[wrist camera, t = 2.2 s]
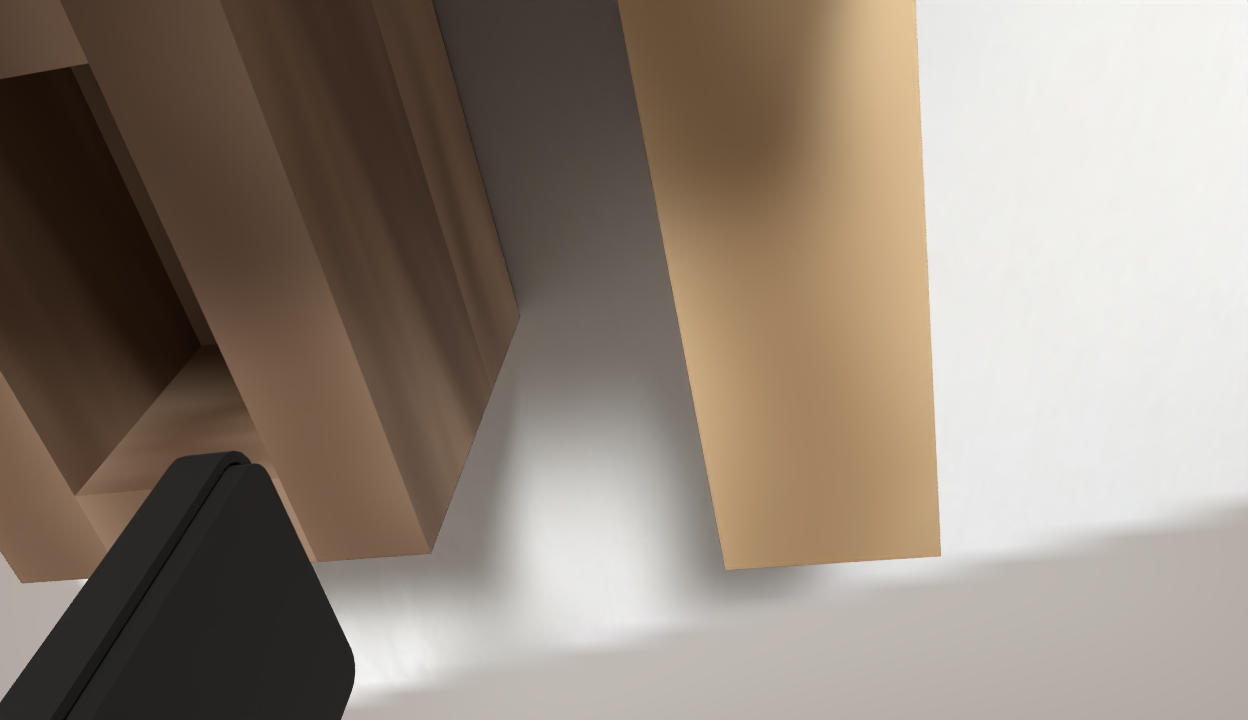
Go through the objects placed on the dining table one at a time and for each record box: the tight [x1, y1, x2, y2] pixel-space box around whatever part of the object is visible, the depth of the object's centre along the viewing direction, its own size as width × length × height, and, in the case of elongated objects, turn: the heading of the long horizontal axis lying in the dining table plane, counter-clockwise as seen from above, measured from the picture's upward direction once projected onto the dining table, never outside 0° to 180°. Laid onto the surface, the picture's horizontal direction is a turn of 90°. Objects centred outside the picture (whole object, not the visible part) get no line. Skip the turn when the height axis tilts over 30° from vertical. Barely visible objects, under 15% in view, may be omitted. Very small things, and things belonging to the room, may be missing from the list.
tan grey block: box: [617, 0, 941, 570], centre depth 19 cm, size 4×12×10 cm, turn 11°
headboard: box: [0, 0, 520, 583], centre depth 17 cm, size 20×15×16 cm
